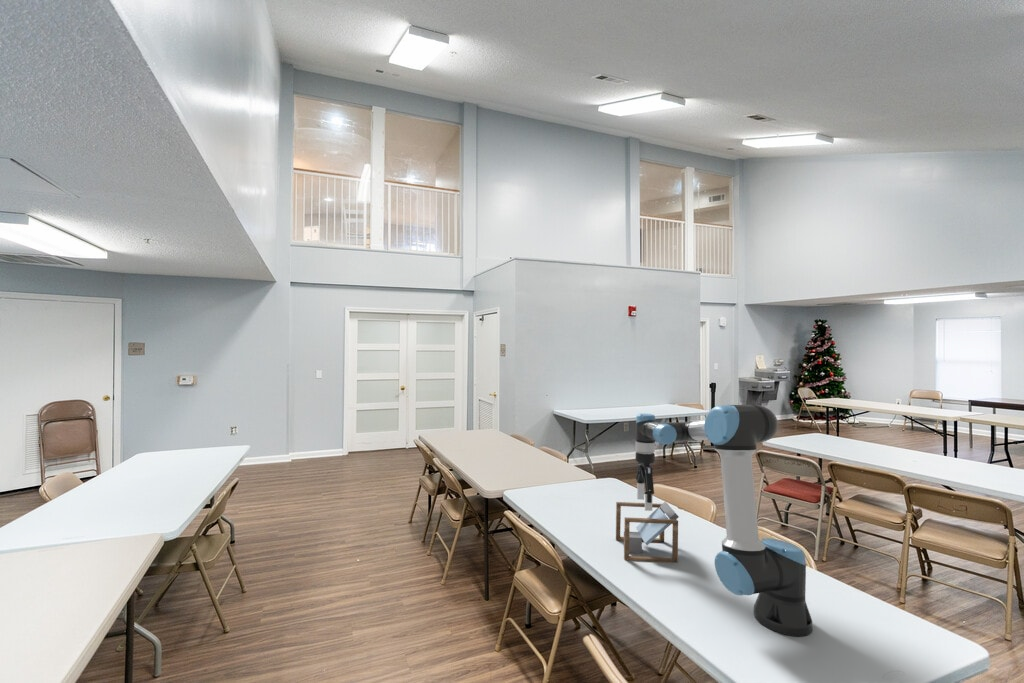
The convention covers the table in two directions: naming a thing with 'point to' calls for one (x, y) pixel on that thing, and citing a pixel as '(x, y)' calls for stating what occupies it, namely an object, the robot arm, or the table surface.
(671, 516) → the plate
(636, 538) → the gray cube
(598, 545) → the table surface
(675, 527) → the frame
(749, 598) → the table surface
